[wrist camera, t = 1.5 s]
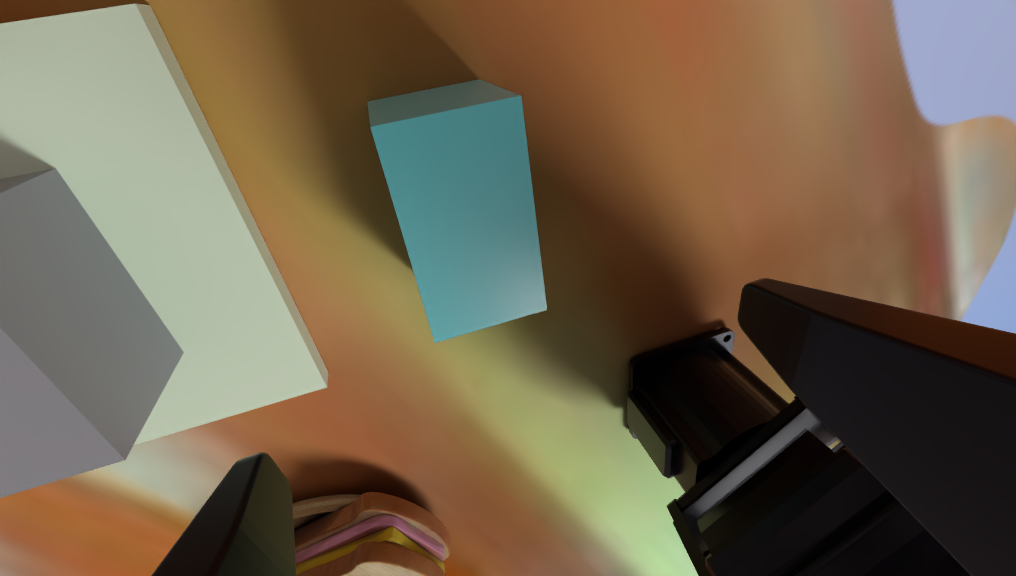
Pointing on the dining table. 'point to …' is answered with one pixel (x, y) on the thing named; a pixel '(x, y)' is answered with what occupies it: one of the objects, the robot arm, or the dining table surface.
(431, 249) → the teal brick
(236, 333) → the base plate
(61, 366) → the grey rectangular block
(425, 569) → the toy sandwich meal
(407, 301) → the dining table surface
